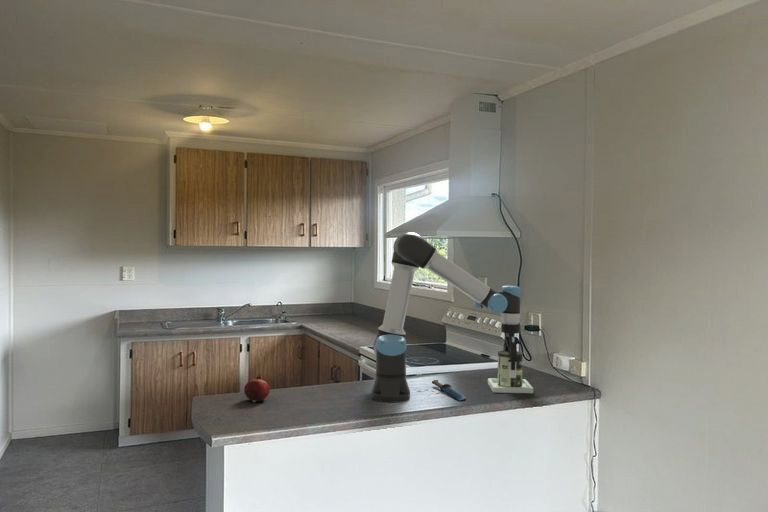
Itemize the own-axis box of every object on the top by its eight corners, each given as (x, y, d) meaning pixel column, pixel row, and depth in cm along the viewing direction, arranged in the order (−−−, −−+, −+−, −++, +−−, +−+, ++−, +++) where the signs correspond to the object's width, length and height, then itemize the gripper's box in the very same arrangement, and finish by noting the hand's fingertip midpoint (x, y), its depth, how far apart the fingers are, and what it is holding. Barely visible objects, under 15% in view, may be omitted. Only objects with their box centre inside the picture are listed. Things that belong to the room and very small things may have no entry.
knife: (469, 394, 220) (457, 397, 218) (469, 401, 220) (458, 404, 219) (439, 376, 242) (429, 379, 241) (440, 383, 243) (430, 386, 241)
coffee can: (521, 384, 244) (522, 351, 244) (522, 390, 234) (523, 355, 234) (497, 382, 246) (497, 349, 246) (496, 388, 236) (497, 354, 236)
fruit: (249, 405, 210) (249, 378, 210) (240, 399, 218) (241, 373, 218) (273, 402, 215) (273, 375, 215) (264, 396, 223) (264, 370, 223)
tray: (493, 392, 233) (493, 387, 232) (487, 382, 248) (487, 378, 248) (533, 393, 232) (533, 388, 232) (525, 383, 248) (525, 379, 248)
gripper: (525, 327, 227) (524, 381, 227) (514, 319, 252) (513, 367, 252) (506, 327, 227) (505, 380, 228) (496, 319, 252) (495, 367, 253)
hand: (509, 374), depth 240 cm, fingers open, 13 cm apart
